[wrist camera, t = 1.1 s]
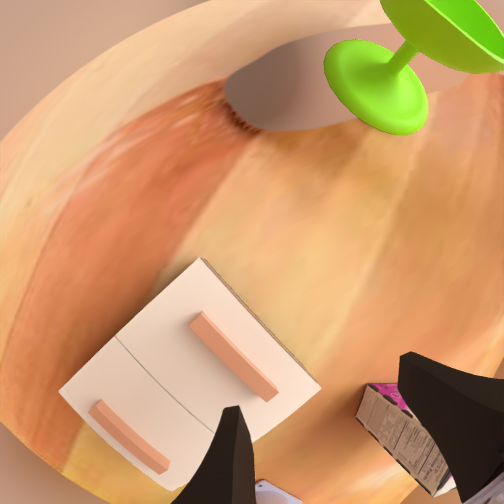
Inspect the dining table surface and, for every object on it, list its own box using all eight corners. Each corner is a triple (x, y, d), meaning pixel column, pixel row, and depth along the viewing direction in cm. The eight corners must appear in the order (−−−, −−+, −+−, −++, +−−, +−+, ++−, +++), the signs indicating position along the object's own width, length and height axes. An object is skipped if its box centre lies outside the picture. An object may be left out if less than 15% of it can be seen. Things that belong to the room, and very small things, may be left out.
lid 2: (238, 446, 20) (240, 461, 18) (118, 333, 20) (108, 339, 18) (318, 384, 21) (327, 395, 19) (199, 258, 21) (197, 257, 19)
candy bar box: (433, 379, 28) (525, 422, 12) (421, 412, 28) (502, 466, 11) (365, 379, 27) (463, 450, 11) (352, 418, 27) (431, 502, 10)
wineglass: (312, 33, 29) (354, -66, 11) (406, 53, 30) (467, -13, 12) (338, 129, 28) (429, 23, 10) (440, 142, 30) (534, 88, 12)
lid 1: (171, 486, 19) (168, 500, 17) (62, 388, 19) (50, 396, 17) (237, 447, 20) (239, 461, 18) (117, 333, 20) (107, 340, 18)
